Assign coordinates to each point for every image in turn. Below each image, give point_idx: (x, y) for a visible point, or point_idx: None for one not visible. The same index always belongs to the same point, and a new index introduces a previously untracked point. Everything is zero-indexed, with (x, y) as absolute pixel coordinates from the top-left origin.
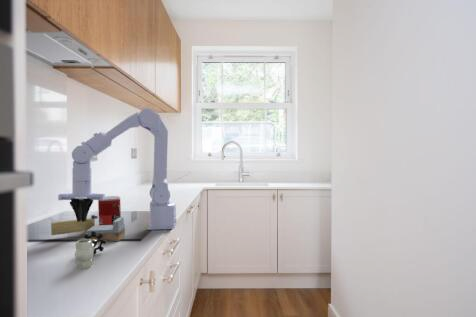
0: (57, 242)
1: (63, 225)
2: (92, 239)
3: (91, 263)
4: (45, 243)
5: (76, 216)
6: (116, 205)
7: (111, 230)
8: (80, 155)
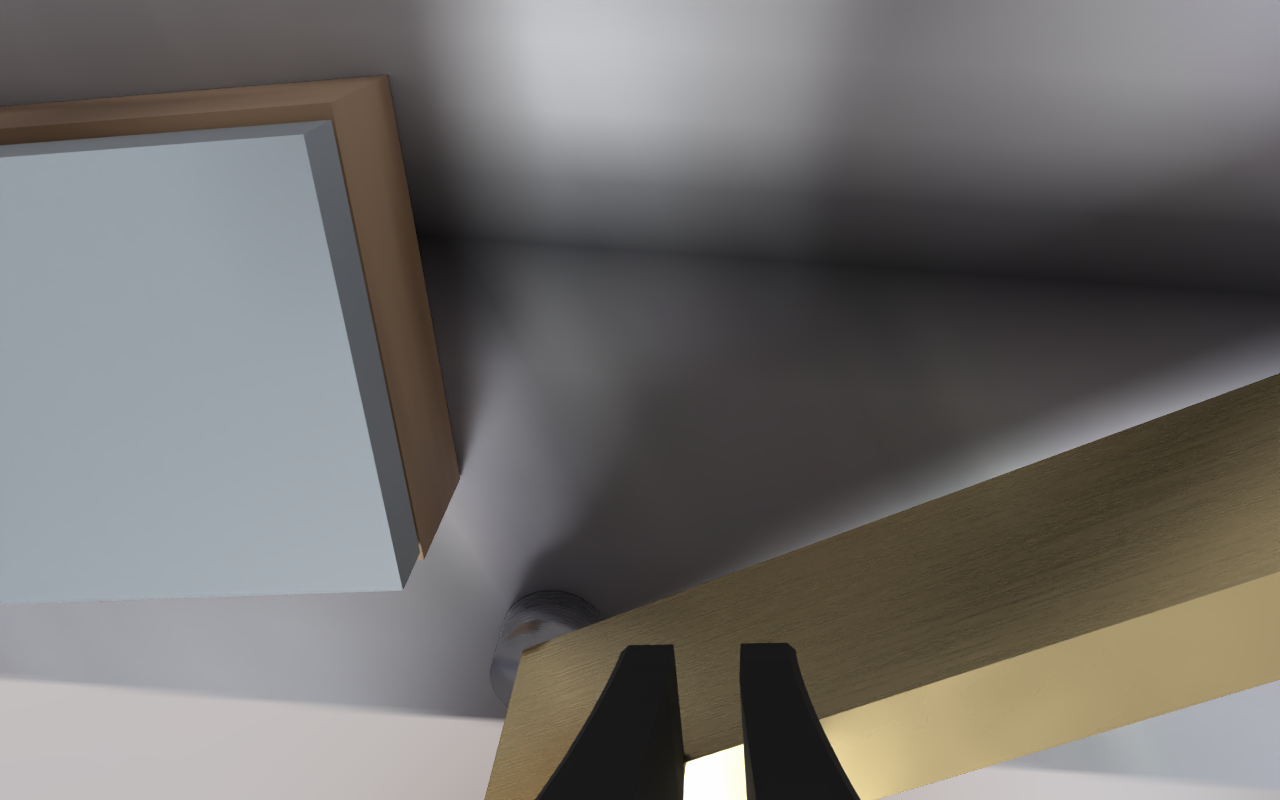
0: (1026, 121)
1: (1113, 558)
2: (246, 94)
3: None
4: (1269, 63)
5: (804, 723)
6: None
7: None
8: None
